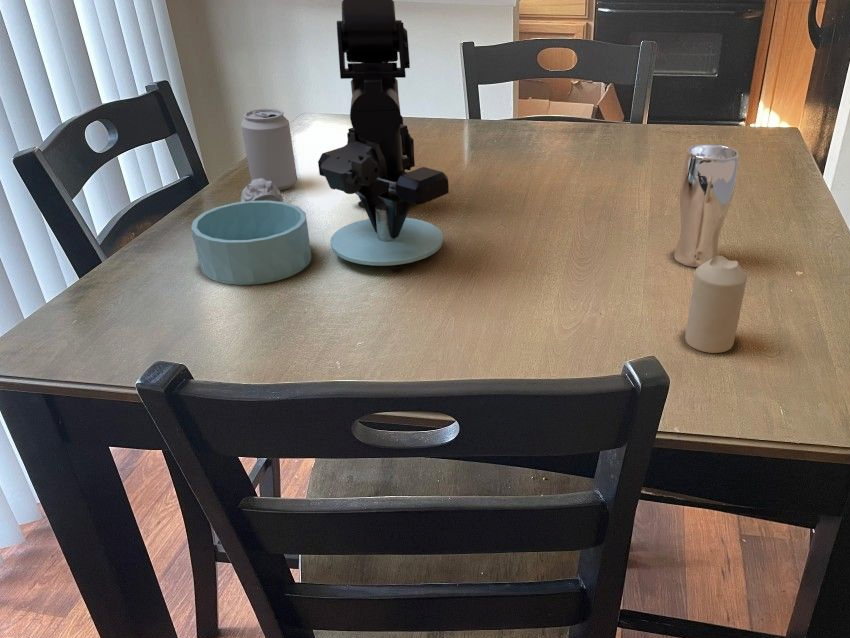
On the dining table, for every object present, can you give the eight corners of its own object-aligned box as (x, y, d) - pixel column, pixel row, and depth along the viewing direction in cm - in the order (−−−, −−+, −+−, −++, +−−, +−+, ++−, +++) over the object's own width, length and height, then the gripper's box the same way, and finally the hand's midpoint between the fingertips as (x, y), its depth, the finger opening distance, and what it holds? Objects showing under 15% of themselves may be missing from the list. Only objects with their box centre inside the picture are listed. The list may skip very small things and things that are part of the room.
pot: (265, 231, 113) (258, 192, 109) (334, 257, 106) (328, 216, 102) (178, 264, 103) (168, 223, 100) (247, 295, 96) (239, 252, 93)
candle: (679, 330, 90) (691, 251, 85) (724, 328, 91) (739, 250, 85) (692, 354, 86) (706, 273, 80) (740, 352, 86) (757, 271, 80)
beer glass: (724, 252, 109) (743, 146, 100) (718, 272, 103) (738, 162, 95) (675, 245, 111) (689, 140, 102) (666, 264, 105) (681, 156, 97)
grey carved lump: (251, 235, 111) (242, 188, 108) (239, 219, 116) (230, 174, 113) (292, 227, 114) (285, 181, 110) (279, 212, 119) (271, 167, 115)
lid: (386, 216, 115) (383, 179, 112) (465, 242, 108) (465, 203, 105) (307, 249, 105) (301, 209, 102) (389, 280, 98) (385, 238, 94)
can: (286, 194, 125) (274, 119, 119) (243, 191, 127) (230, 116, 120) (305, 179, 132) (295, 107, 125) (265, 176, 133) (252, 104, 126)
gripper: (278, 119, 96) (295, 236, 105) (385, 148, 87) (395, 273, 96) (343, 102, 104) (355, 212, 112) (449, 127, 94) (453, 244, 103)
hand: (386, 234), depth 106 cm, fingers closed on lid, 3 cm apart
